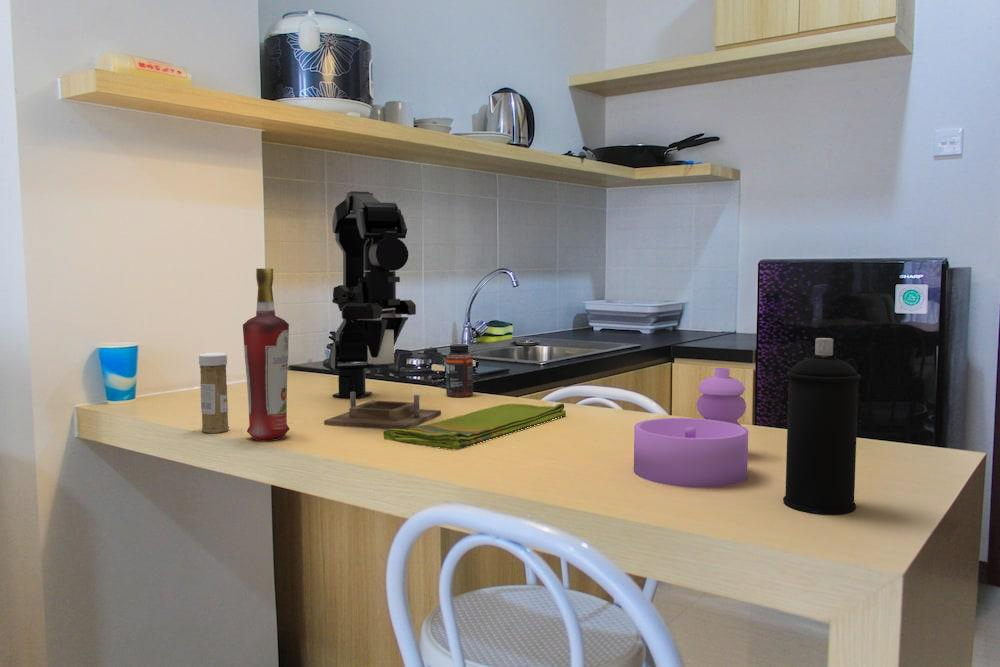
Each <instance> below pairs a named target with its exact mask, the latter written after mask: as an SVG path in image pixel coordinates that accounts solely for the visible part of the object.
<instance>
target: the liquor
mask: <svg viewBox="0 0 1000 667" xmlns="http://www.w3.org/2000/svg"><path fill="white" fill-rule="evenodd" d="M255 275H256V276H255V277H256V278H255V279H256V283H257V284H256V285H257V299H256V301H257V302H256V312H255V314H256V315H255V316H253V317H251V318H249V319H247V321H246V322H244V323H243V324H242V332H243V333H242V336H243V352H244V364H245V373H246V374H245V375H246V385H247V386H246V388H247V403H248V424H249V426H248V428H247V430H246V432H247V434H249V435H250V436H251V437H252V439H254V440H255V441H268V442H270V441H276V440H281V439H283V437H284V436H285V435H286V434H287V433H288V432H289V431H290V426H289V425H288V421H287V420H288V419H287V418H288V416H287V415H288V414H287V413H288V410H287V408H288V406H287V403H288V402H287V401H288V367H289V366H288V365H289V337H290V336H289V335H290V334H289V332H290V331H289V330H290V329H289V328H290V324H289V323H288V322H287V321H286V320H285V319H283V318H282V317H279V316H277V315H276V311H275V302H274V301H275V300H274V295H273V283H274V268H256V269H255Z"/></svg>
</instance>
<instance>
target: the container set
mask: <svg viewBox="0 0 1000 667" xmlns="http://www.w3.org/2000/svg"><path fill="white" fill-rule="evenodd" d="M713 370H714V376H710V377H707V378H705V379H703V380H701V382H699V385H698V390H699V393H701V394H702V395H700V396H699V397H698V398H697V401H696V410H697V411H698V413H699V415H700V416H701V417H703V418H695V417H693V418H691V417H667V418H652V419H646V420H642V421H639V422H636V423H635V424H634V428H633V430H634V432H633V435H634V436H633V438H634V439H633V473H634V474H635V475H636V476H637V477H639V478H641V479H644V480H646V481H650V482H653V483H658V484H662V485H667V486H672V487H673V486H675V487H686V488H720V487H728V486H734V485H738V484H740V483H743V482H745V481H746V480H747V478H748V465H749V464H748V462H749V461H748V459H749V455H748V454H749V429H748V428H746V427H745V426H742V424H741V423H740V422H738V420H739V419H740V418H742V417H743V415H744V414H745V413H746V411H747V410H746V409H747V403H746V401H745V399H744V398H743V397H742V395H744V392H745V390H746V388H745V385H744V383H743V382H741V381H740V380H738V379H737V378H735V377H730V368H727V367H714V369H713Z"/></svg>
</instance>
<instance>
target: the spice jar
mask: <svg viewBox="0 0 1000 667" xmlns="http://www.w3.org/2000/svg"><path fill="white" fill-rule="evenodd" d="M227 356H228V355H227V353H225V352H205V353H200V354H199V356H198V364H199V368H200V369H199V370H200V387H199V388H200V407H201V408H200V411H201V423H202V426H201V431H202V432H203V433H206V434H207V433H208V434H219V433H224V432H227V431H228V430H229V429H230V427H229V413H228V411H229V404H228V403H229V402H228V385H227V364H228V357H227Z"/></svg>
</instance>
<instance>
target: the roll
mask: <svg viewBox="0 0 1000 667" xmlns="http://www.w3.org/2000/svg"><path fill="white" fill-rule="evenodd" d="M368 363H369V364H374V365H389V364H394V363H395V345H394V330H386V329H385V332H384V336H383V340H382V344H381V348H380V351H379V354H378V357H377V358H373V357H371V354H370V351H369V348H368Z"/></svg>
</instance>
